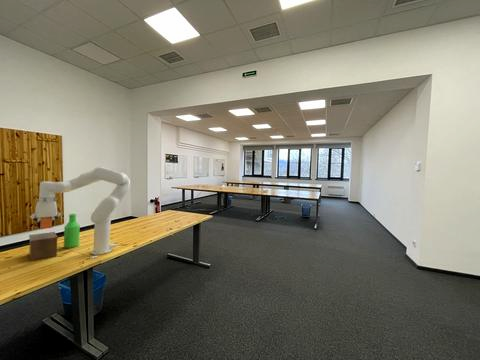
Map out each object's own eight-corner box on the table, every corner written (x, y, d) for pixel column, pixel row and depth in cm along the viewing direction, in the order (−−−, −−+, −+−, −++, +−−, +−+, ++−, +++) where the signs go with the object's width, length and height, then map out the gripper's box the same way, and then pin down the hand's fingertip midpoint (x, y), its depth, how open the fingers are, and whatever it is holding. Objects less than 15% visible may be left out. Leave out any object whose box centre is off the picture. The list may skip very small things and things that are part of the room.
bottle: (66, 245, 151) (67, 213, 151) (80, 244, 155) (81, 212, 155) (62, 249, 143) (63, 215, 143) (77, 247, 147) (78, 214, 147)
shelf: (54, 249, 142) (54, 231, 142) (57, 256, 131) (57, 236, 131) (28, 254, 132) (29, 235, 132) (29, 261, 122) (30, 240, 122)
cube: (50, 226, 134) (51, 218, 134) (51, 227, 130) (52, 219, 130) (39, 227, 130) (39, 219, 130) (40, 228, 126) (40, 220, 126)
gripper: (63, 198, 139) (61, 224, 139) (27, 199, 126) (26, 227, 126) (65, 200, 134) (63, 226, 134) (28, 201, 121) (27, 230, 121)
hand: (45, 226), depth 130 cm, fingers closed on cube, 5 cm apart
